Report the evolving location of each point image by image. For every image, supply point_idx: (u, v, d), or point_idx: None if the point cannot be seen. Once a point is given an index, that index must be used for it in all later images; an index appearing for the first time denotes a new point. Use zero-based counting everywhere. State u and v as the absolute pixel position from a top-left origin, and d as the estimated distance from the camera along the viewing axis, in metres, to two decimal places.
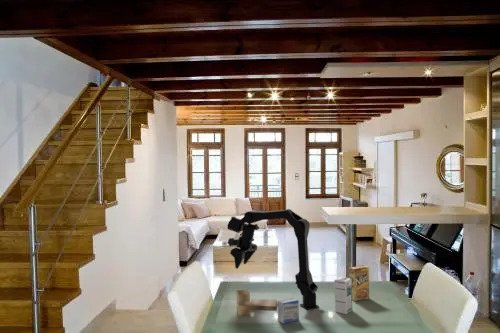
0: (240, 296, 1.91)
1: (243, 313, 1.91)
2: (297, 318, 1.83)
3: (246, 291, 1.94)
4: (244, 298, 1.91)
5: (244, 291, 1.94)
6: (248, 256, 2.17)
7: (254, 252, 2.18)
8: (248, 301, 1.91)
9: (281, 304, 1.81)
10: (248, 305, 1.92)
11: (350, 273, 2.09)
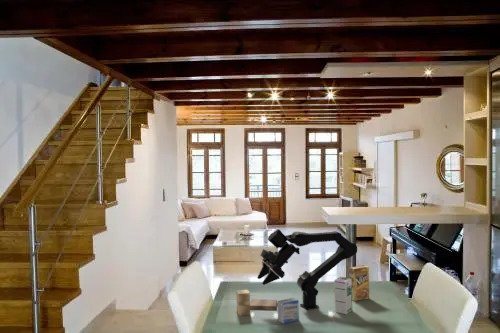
0: (240, 296, 1.91)
1: (243, 313, 1.91)
2: (297, 318, 1.83)
3: (246, 291, 1.94)
4: (244, 298, 1.91)
5: (244, 291, 1.94)
6: (265, 272, 2.00)
7: None
8: (248, 301, 1.91)
9: (281, 304, 1.81)
10: (248, 305, 1.92)
11: (350, 273, 2.09)
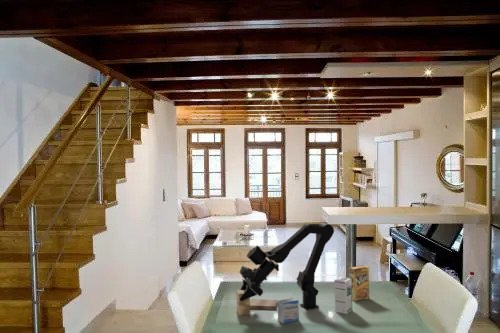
0: (240, 296, 1.91)
1: (243, 313, 1.91)
2: (297, 318, 1.83)
3: None
4: None
5: (244, 291, 1.94)
6: None
7: None
8: (248, 301, 1.91)
9: (281, 304, 1.81)
10: (248, 305, 1.92)
11: (350, 273, 2.09)
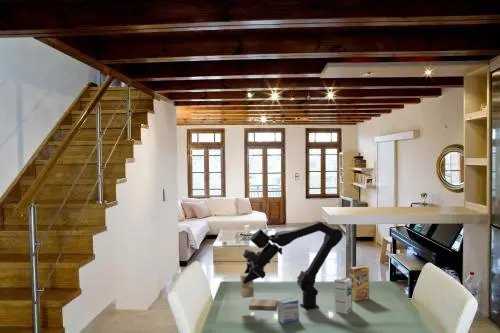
0: (243, 279, 1.92)
1: (246, 295, 1.93)
2: (297, 318, 1.83)
3: None
4: None
5: None
6: None
7: None
8: (251, 284, 1.93)
9: (281, 304, 1.81)
10: (251, 288, 1.93)
11: (350, 273, 2.09)
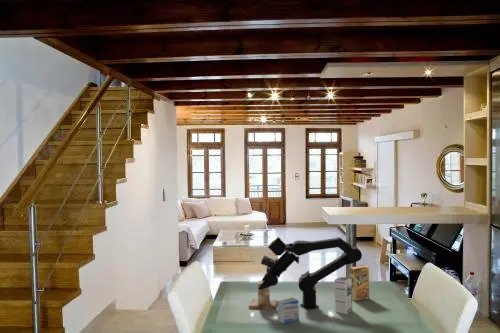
0: (259, 286, 2.00)
1: (262, 303, 2.00)
2: (297, 318, 1.83)
3: None
4: (263, 289, 2.00)
5: None
6: None
7: None
8: (267, 292, 1.99)
9: (281, 304, 1.81)
10: (267, 296, 2.00)
11: (350, 273, 2.09)
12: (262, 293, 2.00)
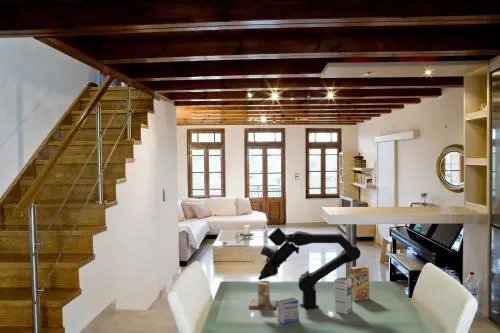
0: (259, 286, 2.00)
1: (262, 303, 2.00)
2: (297, 318, 1.83)
3: (266, 282, 2.02)
4: (263, 289, 2.00)
5: (265, 282, 2.02)
6: None
7: None
8: (267, 292, 1.99)
9: (281, 304, 1.81)
10: (267, 296, 1.99)
11: (350, 273, 2.09)
12: (262, 293, 2.00)
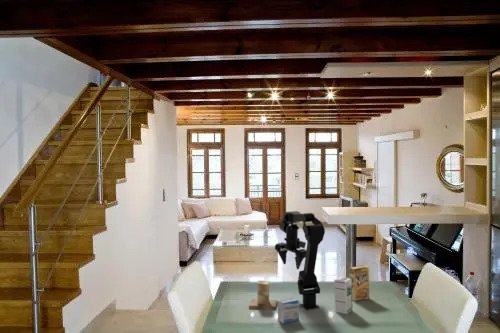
0: (259, 286, 2.00)
1: (261, 302, 2.00)
2: (297, 318, 1.83)
3: (266, 282, 2.02)
4: (262, 289, 2.00)
5: (265, 282, 2.02)
6: None
7: (297, 258, 2.12)
8: (267, 292, 1.99)
9: (281, 304, 1.81)
10: (266, 296, 1.99)
11: (350, 273, 2.09)
12: (262, 293, 2.00)
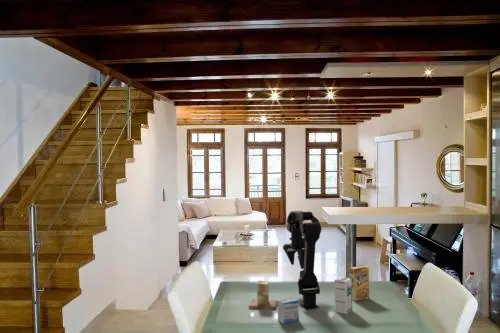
0: (258, 286, 2.00)
1: (261, 303, 2.00)
2: (297, 318, 1.83)
3: (266, 282, 2.02)
4: (262, 289, 2.00)
5: (264, 282, 2.02)
6: None
7: (299, 257, 2.13)
8: (266, 292, 2.00)
9: (281, 304, 1.81)
10: (266, 295, 2.00)
11: (350, 273, 2.09)
12: (261, 293, 2.00)
